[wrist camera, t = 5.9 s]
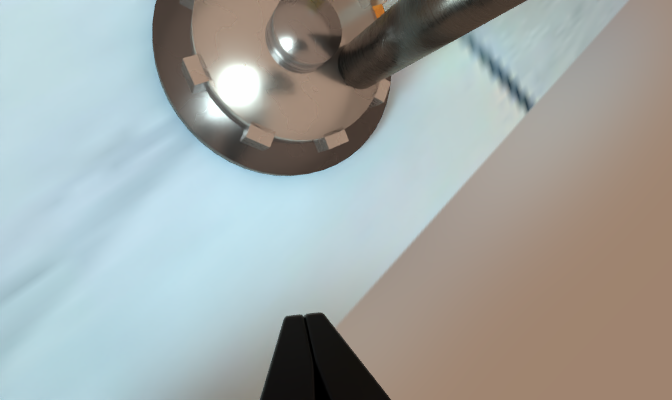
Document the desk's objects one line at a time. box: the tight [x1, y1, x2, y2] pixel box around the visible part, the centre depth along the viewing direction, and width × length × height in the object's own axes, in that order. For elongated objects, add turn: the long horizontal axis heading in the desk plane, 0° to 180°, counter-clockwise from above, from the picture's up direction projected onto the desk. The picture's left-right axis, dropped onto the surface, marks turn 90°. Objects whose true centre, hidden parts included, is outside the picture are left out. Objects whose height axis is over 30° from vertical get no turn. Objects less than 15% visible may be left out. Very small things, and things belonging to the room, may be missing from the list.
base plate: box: [153, 0, 391, 176], centre depth 19 cm, size 13×13×4 cm
